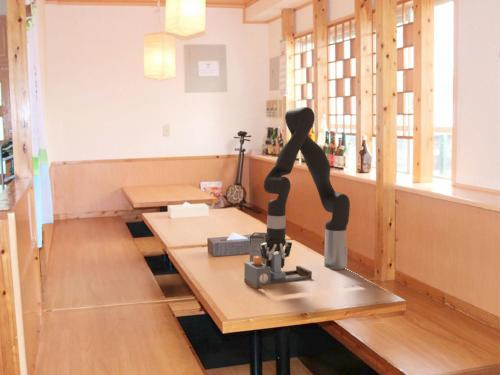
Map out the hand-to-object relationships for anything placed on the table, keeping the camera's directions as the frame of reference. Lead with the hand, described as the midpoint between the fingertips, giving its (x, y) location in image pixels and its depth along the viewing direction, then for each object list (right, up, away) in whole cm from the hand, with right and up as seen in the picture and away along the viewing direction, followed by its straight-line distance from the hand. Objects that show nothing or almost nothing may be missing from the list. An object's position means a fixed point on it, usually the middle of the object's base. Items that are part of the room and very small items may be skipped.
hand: (275, 267), depth 259 cm
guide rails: (+3, -4, +2) cm, 6 cm away
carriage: (0, -4, +1) cm, 5 cm away
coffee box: (-6, -4, +19) cm, 20 cm away
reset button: (-7, +2, -4) cm, 8 cm away
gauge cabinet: (-7, -5, -3) cm, 9 cm away
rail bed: (+1, -6, +1) cm, 6 cm away
